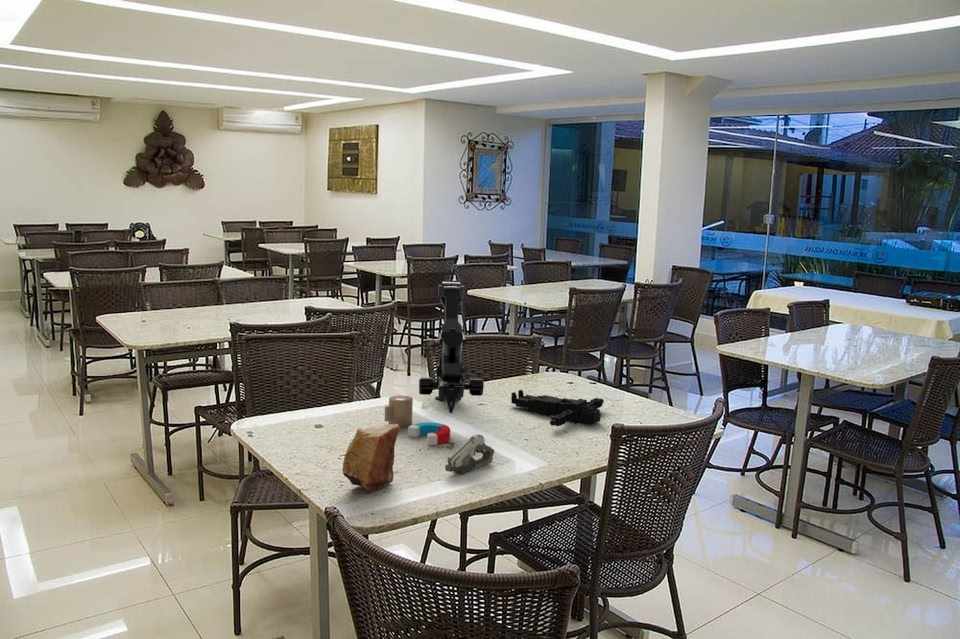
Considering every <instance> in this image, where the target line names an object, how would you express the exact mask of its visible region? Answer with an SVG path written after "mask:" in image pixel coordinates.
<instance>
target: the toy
mask: <svg viewBox="0 0 960 639" xmlns="http://www.w3.org/2000/svg"><path fill="white" fill-rule="evenodd" d="M517 394H518V395H517ZM510 398H511V400H510V402H511V404H515V407H519V408H523V409H527V410H528V411H531V412H533V413H534V414H538V415H539V416H543V417H550V416H551V419H550V421H549V425H550V426H551V427H553V426H554V427H560V426H563V425H565V424H566V423H567V422H568V423H570V424H575V425H578V424H581V425H587V426H593V425H596V424H597V423H600V422H601V416H602V415H601V414H602V413H601V409H599V408H602V407H603V405H604V402H605V400H604V399H603V398H599V397H598V398H597V397H595V398H593V399H590V400H589V401H588V400H587V399H583V398H578V399H574V398H566V397H563V398H559V397H557V396H551V395H546V394H543V395H537V396H536V395H532V394H531V395H529V394H524V391H523V389H519V390H518V392H517V393H516V392H515V391H514V392H511V397H510Z"/></svg>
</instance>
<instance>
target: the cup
mask: <svg viewBox="0 0 960 639" xmlns="http://www.w3.org/2000/svg"><path fill="white" fill-rule="evenodd" d="M413 399H414V398H413V397H412V396H409V395H405V394H404V395H392V396H390V397H389V398H388V405H384V421H385V422H388V424H398V425H399V426H400V429H406V428H407V429H408V427H409V426H411V425H413Z"/></svg>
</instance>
